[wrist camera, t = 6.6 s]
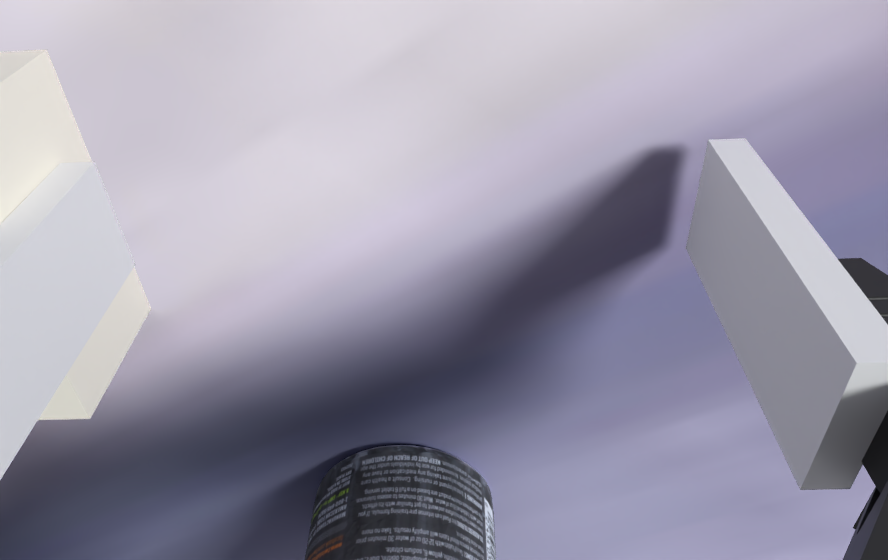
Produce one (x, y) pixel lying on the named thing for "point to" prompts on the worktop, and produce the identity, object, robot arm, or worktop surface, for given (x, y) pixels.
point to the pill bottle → (402, 508)
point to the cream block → (18, 173)
